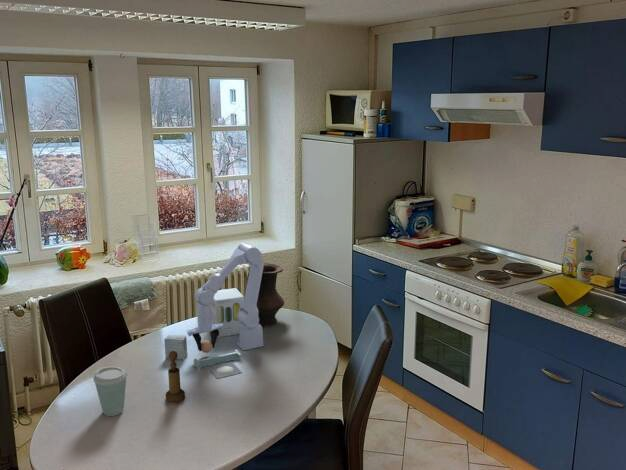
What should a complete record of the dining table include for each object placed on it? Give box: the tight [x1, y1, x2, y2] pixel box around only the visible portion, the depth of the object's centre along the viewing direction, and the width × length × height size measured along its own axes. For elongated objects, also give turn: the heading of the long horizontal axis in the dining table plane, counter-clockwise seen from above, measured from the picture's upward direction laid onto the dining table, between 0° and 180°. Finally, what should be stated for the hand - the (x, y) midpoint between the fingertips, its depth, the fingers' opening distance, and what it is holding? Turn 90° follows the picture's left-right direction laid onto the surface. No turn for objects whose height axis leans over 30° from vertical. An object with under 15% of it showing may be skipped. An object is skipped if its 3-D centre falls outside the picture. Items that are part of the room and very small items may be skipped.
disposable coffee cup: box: [93, 365, 128, 417], centre depth 194 cm, size 11×11×15 cm
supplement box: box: [211, 287, 245, 338], centre depth 262 cm, size 13×13×18 cm
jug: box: [246, 262, 285, 327], centre depth 269 cm, size 21×18×30 cm
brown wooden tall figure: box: [165, 351, 186, 405], centre depth 202 cm, size 7×6×18 cm
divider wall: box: [193, 349, 242, 371], centre depth 232 cm, size 18×5×2 cm, turn 119°
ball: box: [200, 339, 213, 353], centre depth 237 cm, size 5×5×5 cm
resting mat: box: [208, 362, 243, 380], centre depth 225 cm, size 10×10×1 cm
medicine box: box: [164, 334, 188, 360], centre depth 236 cm, size 8×4×9 cm, turn 84°
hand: (206, 348), depth 237 cm, fingers closed on ball, 5 cm apart
